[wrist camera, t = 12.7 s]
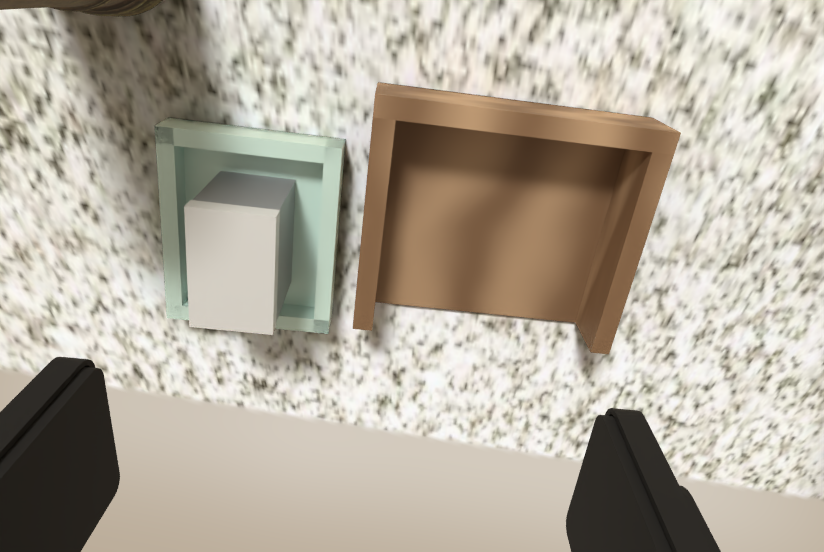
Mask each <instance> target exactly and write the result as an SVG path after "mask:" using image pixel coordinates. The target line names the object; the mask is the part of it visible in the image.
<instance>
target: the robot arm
mask: <svg viewBox="0 0 824 552" xmlns="http://www.w3.org/2000/svg"><path fill="white" fill-rule="evenodd" d="M119 480H120V473H119V467H118V460H117V455H116V448H115V443H114V436H113V430H112V424H111V417H110V411H109V405H108V399H107V392H106V386H105V380H104V375H103V371H102V370H101V369H99V368H95V365H94V363H93V362H92V361H91V360H89V359H78V358H67V357H57V358H55V359H53V360H52V361H51V362H50V363H49V364H48V365H47V366H46V367H45V368H44V369H43V370H42V371H41V372H40V373H39V374H38V375H37V376H36V377H35V378H34V379H33V380H32V381H31V382H30V383H29V384H28V385H27V386H26V387H25V388H24V389H23V390H22V391H21V392H20V393H19V394H18V395H17V396H16V397H15V398H14V399H13V400H12V401H11V402H10V403H9V404H8V405H7V406H6V407H5V408H4V409H3V410H2V411H1V412H0V552H81V550H82V548H83V547H84V545H85V543H86V542H87V540H88V538H89V537H90V535H91V534H92V532H93V530H94V529H95V527H96V525H97V524H98V522H99V520H100V519H101V517H102V516H103V514H104V512H105V511H106V509H107V507H108V506H109V504H110V502H111V501H112V499H113V497H114V496H115V494H116V492H117V489H118V485H119ZM566 530H567V536H568V540H569V544H570V548H571V552H721V551H720V549H719V547H718V545H717V543H716V542H715V540H714V538H713V536H712V534H711V532H710V530H709V528H708V526H707V524H706V522H705V520H704V518H703V516H702V515H701V513H700V511H699V509H698V507H697V505H696V503H695V501H694V499H693V497H692V496H691V494H690V493H689V491H688V490H687V489H686V488H684V487H683V486H679V484H678V482H677V480H676V478H675V476H674V474H673V472H672V470H671V468H670V466H669V464H668V462H667V460H666V458H665V456H664V454H663V452H662V450H661V448H660V446H659V444H658V442H657V440H656V438H655V436H654V434H653V432H652V430H651V429H650V427H649V425H648V423H647V421H646V419H645V417H644V415H643V414H642V412H640V411H635V410H624V409H614V408H610V409H608V410H607V412H606V414H605V415H598V416H597V418H596V420H595V423H594V426H593V430H592V433H591V436H590V440H589V443H588V446H587V450H586V453H585V456H584V460H583V463H582V466H581V470H580V473H579V477H578V480H577V483H576V486H575V490H574V493H573V496H572V500H571V503H570V506H569V510H568V513H567V519H566Z"/></svg>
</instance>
